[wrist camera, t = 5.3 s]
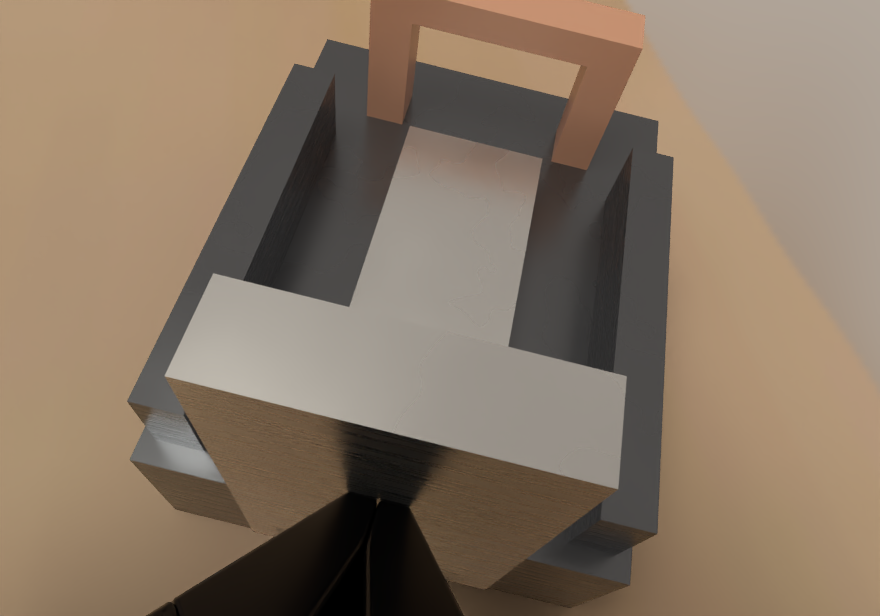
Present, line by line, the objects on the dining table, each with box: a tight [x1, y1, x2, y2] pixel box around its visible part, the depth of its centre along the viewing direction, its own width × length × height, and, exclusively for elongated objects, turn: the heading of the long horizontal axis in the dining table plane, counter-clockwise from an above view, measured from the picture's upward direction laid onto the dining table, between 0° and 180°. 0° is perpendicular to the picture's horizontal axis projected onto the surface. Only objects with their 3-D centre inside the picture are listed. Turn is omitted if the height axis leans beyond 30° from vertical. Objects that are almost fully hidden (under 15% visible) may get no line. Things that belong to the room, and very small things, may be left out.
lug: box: [367, 0, 645, 170], centre depth 17 cm, size 1×6×4 cm, turn 78°
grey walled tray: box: [127, 39, 673, 608], centre depth 17 cm, size 13×10×6 cm
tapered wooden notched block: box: [165, 126, 627, 590], centre depth 12 cm, size 10×4×7 cm, turn 167°
